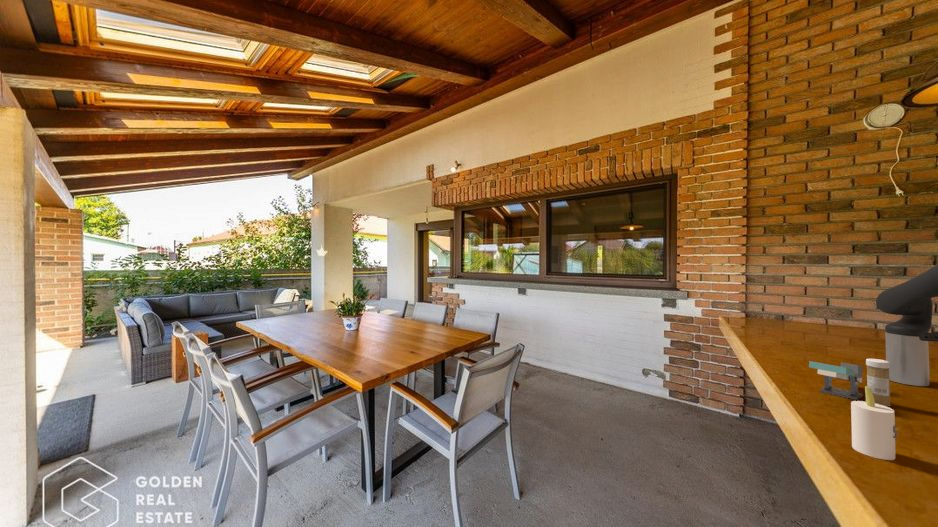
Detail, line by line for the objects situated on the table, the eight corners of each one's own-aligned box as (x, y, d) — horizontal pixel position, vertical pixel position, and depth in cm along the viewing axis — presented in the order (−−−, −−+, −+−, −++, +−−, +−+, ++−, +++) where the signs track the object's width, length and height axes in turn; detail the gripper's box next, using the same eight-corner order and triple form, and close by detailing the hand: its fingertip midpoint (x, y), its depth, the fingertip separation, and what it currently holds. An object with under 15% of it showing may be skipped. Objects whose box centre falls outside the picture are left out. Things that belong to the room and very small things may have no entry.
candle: (892, 463, 71) (891, 394, 71) (847, 448, 76) (846, 385, 76) (900, 455, 73) (899, 389, 74) (856, 441, 79) (855, 380, 79)
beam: (836, 378, 116) (837, 361, 117) (870, 385, 109) (871, 368, 110) (808, 372, 104) (809, 354, 105) (845, 380, 97) (846, 361, 98)
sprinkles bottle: (891, 404, 99) (890, 360, 99) (889, 408, 96) (888, 363, 96) (867, 399, 103) (867, 357, 103) (865, 403, 100) (864, 359, 100)
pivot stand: (826, 388, 112) (826, 366, 112) (862, 396, 105) (862, 373, 105) (820, 391, 109) (819, 369, 109) (856, 400, 102) (856, 376, 102)
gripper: (1044, 323, 80) (934, 322, 95) (1025, 324, 75) (911, 323, 90) (1053, 354, 78) (940, 348, 93) (1034, 358, 73) (917, 351, 88)
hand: (926, 336), depth 91 cm, fingers open, 8 cm apart
